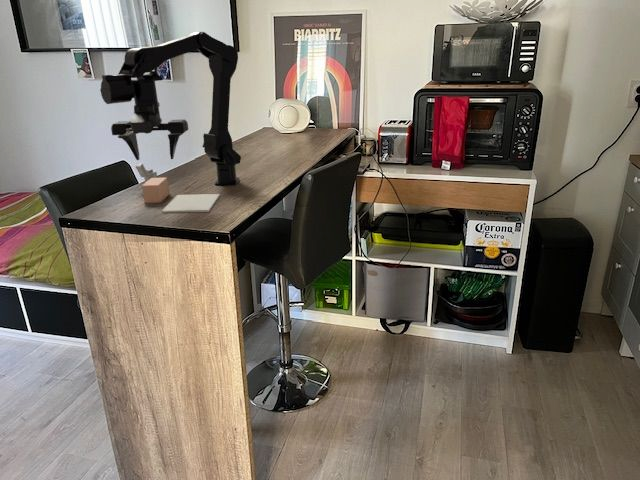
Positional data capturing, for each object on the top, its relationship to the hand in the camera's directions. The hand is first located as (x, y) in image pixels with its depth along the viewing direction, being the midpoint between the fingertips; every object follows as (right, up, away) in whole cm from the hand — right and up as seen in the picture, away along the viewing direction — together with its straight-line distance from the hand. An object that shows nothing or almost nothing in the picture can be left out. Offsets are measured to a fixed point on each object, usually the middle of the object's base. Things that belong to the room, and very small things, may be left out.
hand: (155, 159), depth 135 cm
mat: (+10, -12, 0) cm, 16 cm away
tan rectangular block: (-1, -10, +5) cm, 12 cm away
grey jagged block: (-7, -6, +16) cm, 18 cm away
